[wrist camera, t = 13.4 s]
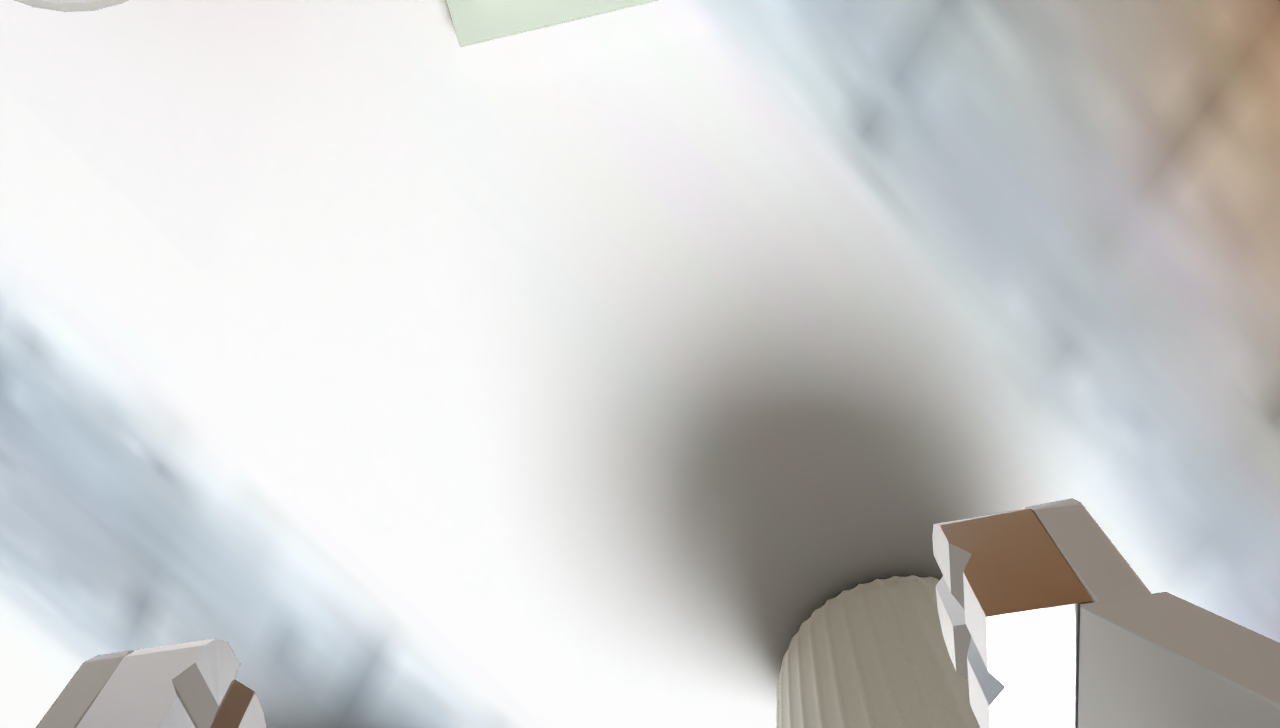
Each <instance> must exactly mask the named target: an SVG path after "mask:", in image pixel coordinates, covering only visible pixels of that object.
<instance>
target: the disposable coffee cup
mask: <svg viewBox="0 0 1280 728" xmlns="http://www.w3.org/2000/svg"><path fill="white" fill-rule="evenodd" d="M15 1H18V2H21V3H24V4H26V5H29V6H32V7H36V8H43V9H50V10H56V11H63V12H73V11H93V10H98V9H102V8H106V7H110V6H114V5H118V4H122V3H124V2H126V1H128V0H15Z"/></svg>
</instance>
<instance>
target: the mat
mask: <svg viewBox="0 0 1280 728" xmlns="http://www.w3.org/2000/svg"><path fill="white" fill-rule="evenodd" d="M446 1H447V4H448V7H449V11H450V14H451V18H452V21H453V24H454V28H455V31H456V35H457V38H458V42H459V45H460V47H463V46H468V45H472V44H476V43H480V42H485V41H489V40H493V39H497V38H502V37H506V36H510V35H514V34H519V33H523V32H527V31H531V30H536V29H540V28H544V27H548V26H553V25H557V24H561V23H565V22H569V21H574V20H578V19H582V18H586V17H591V16H595V15H599V14H603V13H608V12H612V11H616V10H620V9H625V8H629V7H633V6H637V5H642V4H646V3H650V2H654V1H659V0H446Z"/></svg>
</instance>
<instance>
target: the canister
mask: <svg viewBox="0 0 1280 728" xmlns="http://www.w3.org/2000/svg"><path fill="white" fill-rule="evenodd" d="M939 581H940V580H938V579H936V578H934V577H918V576H915V575H911V576H908V577H898V576H893V577H891V578H888V579H875V580H874V581H872V582H869V583H865V584H858V585H857V586H856V587H855V588H853V589H850V590H844V591H842V592H841V594H839V595H838V596H836V597H835V598H832V599H828V600H827V601H826V603H825V604H824V605H823V606H822V607H821V608H818V609H816V610H814V611H813V613H812V614H811V617H810V618H809V619H808V620H806V621H804V622H803V623H802V624H801V626H800V628H799V631H798V632H797V633H796V634H795V635H794V636H793V637H792V639H791V641H790V644H789V648H788V650H787V651H786V653H785V655H784V657H783V660H782V665H781V670H780V673H779V677H778V684H777V728H980V726H979V724H978V721H977V719H976V717H975V714H974V712H973V710H972V708H971V705H970V699H969V683H968V679H967V678H965V677H964V676H962V675H960V674H959V673H957V672H956V670H955V668H954V665H953V663H952V660H951V658H950V655H949V653H948V650H947V647H946V644H945V640H944V637H943V634H942V629H941V624H940V619H939V614H938V607H937V597H936V585H937V583H938V582H939Z"/></svg>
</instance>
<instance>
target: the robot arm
mask: <svg viewBox="0 0 1280 728" xmlns="http://www.w3.org/2000/svg"><path fill="white" fill-rule="evenodd" d="M932 540H933V555H934V557H935V559H936V561H937V563H938V566H939V568H940V570H941V572H942V574H943V576H942V578H941V579H940V581H939V582H938V583H937V585H936V597H937V607H938V614H939V619H940V624H941V629H942V634H943V637H944V640H945V644H946V647H947V650H948V653H949V655H950V658H951V660H952V663H953V665H954V668H955V670H956V672H957V673H959V674H960V675H962V676H964V677H965V678H967V679H968V683H969V699H970V705H971V708H972V710H973V712H974V714H975V717H976V719H977V721H978V724H979V726H980V728H1280V643H1279V642H1276V641H1274V640H1272V639H1270V638H1267V637H1265V636H1263V635H1261V634H1258V633H1256V632H1254V631H1252V630H1250V629H1247V628H1245V627H1243V626H1241V625H1238V624H1236V623H1234V622H1232V621H1230V620H1227V619H1225V618H1223V617H1221V616H1218V615H1216V614H1214V613H1212V612H1210V611H1207V610H1205V609H1203V608H1201V607H1198V606H1196V605H1194V604H1192V603H1190V602H1187V601H1185V600H1183V599H1181V598H1178V597H1176V596H1174V595H1172V594H1169V593H1167V592H1162V593H1155V594H1151V593H1150V591H1149V590H1148V589H1147V588H1146V586H1145V585H1144V584H1143V582H1142V581H1141V580H1140V578H1139V577H1138V576H1137V575H1136V573H1135V572H1134V571H1133V569H1132V568H1131V567H1130V566H1129V564H1128V563H1127V562H1126V560H1125V559H1124V558H1123V556H1122V555H1121V554H1120V553H1119V551H1118V550H1117V549H1116V547H1115V546H1114V545H1113V544H1112V542H1111V541H1110V540H1109V538H1108V537H1107V536H1106V534H1105V533H1104V532H1103V531H1102V529H1101V528H1100V527H1099V525H1098V524H1097V523H1096V522H1095V520H1094V519H1093V518H1092V516H1091V515H1090V514H1089V512H1088V511H1087V510H1086V509H1085V507H1084V506H1083V505H1082V503H1081V502H1079V501H1077V500H1075V499H1073V498H1072V499H1066V500H1061V501H1056V502H1050V503H1045V504H1040V505H1034V506H1029V507H1026V509H1021V510H1014V511H1008V512H1002V513H996V514H990V515H984V516H978V517H972V518H966V519H960V520H954V521H948V522H942V523H936V524H934V525H933V533H932ZM240 664H241V663H240V662H239V660H238V658H237V656H236V655H235V653H234V651H233V649H232V648H231V646H230V644H229V642H226V641H223V640H219V639H209V640H201V641H194V642H187V643H179V644H172V645H165V646H157V647H150V648H143V649H137V650H135V651H124V652H118V653H111V654H104V655H98V656H96V657H94V658H92V659H90V660H88V661H86V662H84V663H83V664H82V665H81V667H80V668H79V669H78V671H77V672H76V674H75V675H74V676H73V678H72V679H71V680H70V682H69V683H68V684H67V686H66V687H65V689H64V690H63V691H62V693H61V694H60V695H59V697H58V698H57V699H56V701H55V702H54V704H53V705H52V706H51V708H50V709H49V710H48V712H47V713H46V714H45V716H44V717H43V719H42V720H41V721H40V723H39V724H38V725H37V727H36V728H267V727H266V723H265V718H264V713H263V708H262V706H261V704H260V702H259V700H258V698H257V696H256V693H255V692H254V691H252V690H251V689H249V688H247V687H246V686H244V685H243V684H241V683H240V682H238V681H236V680H235V678H236V675H237V672H238V670H239V667H240Z"/></svg>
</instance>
